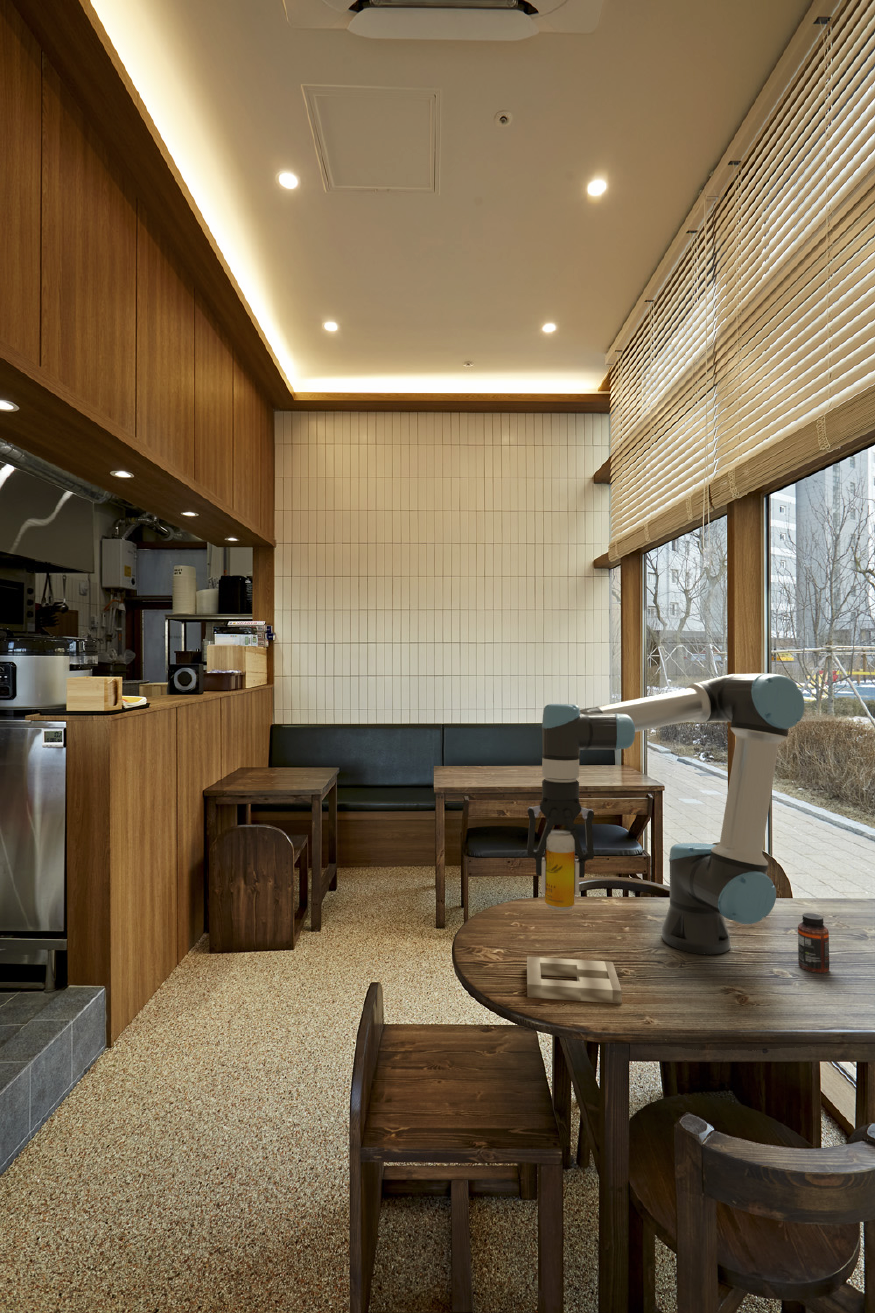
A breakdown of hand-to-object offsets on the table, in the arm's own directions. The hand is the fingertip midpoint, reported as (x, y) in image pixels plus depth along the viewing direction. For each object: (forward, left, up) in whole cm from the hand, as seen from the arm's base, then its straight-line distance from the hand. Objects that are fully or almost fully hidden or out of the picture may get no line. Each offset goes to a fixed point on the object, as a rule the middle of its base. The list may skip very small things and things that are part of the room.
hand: (559, 892), depth 137 cm
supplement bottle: (-56, -16, -19) cm, 61 cm away
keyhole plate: (-3, 0, -19) cm, 19 cm away
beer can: (0, 0, -3) cm, 3 cm away
